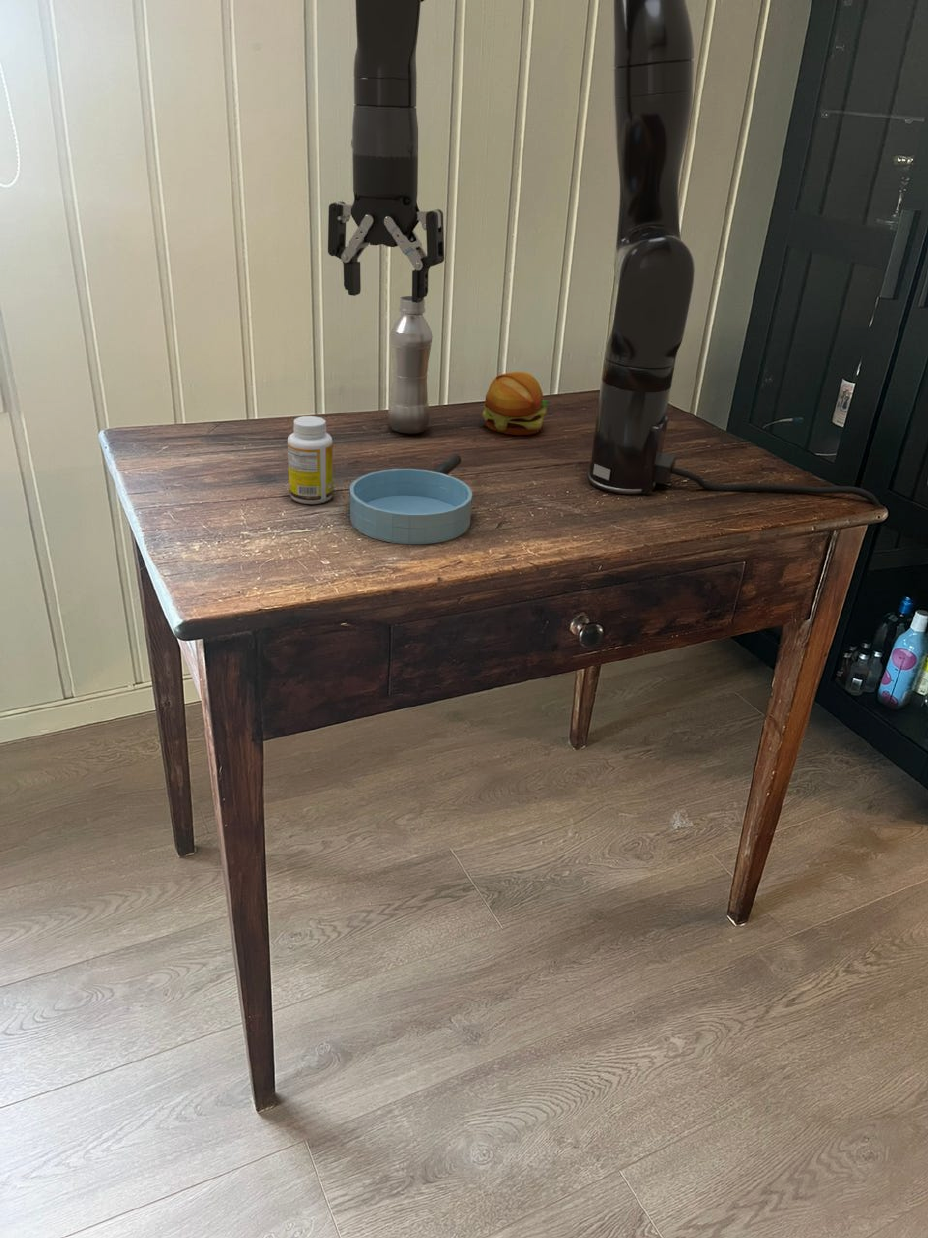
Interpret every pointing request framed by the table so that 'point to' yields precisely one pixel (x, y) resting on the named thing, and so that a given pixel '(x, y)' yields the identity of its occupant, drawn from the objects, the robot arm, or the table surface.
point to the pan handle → (448, 464)
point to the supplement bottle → (310, 461)
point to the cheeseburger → (515, 404)
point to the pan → (410, 506)
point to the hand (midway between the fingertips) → (385, 297)
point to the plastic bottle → (410, 368)
